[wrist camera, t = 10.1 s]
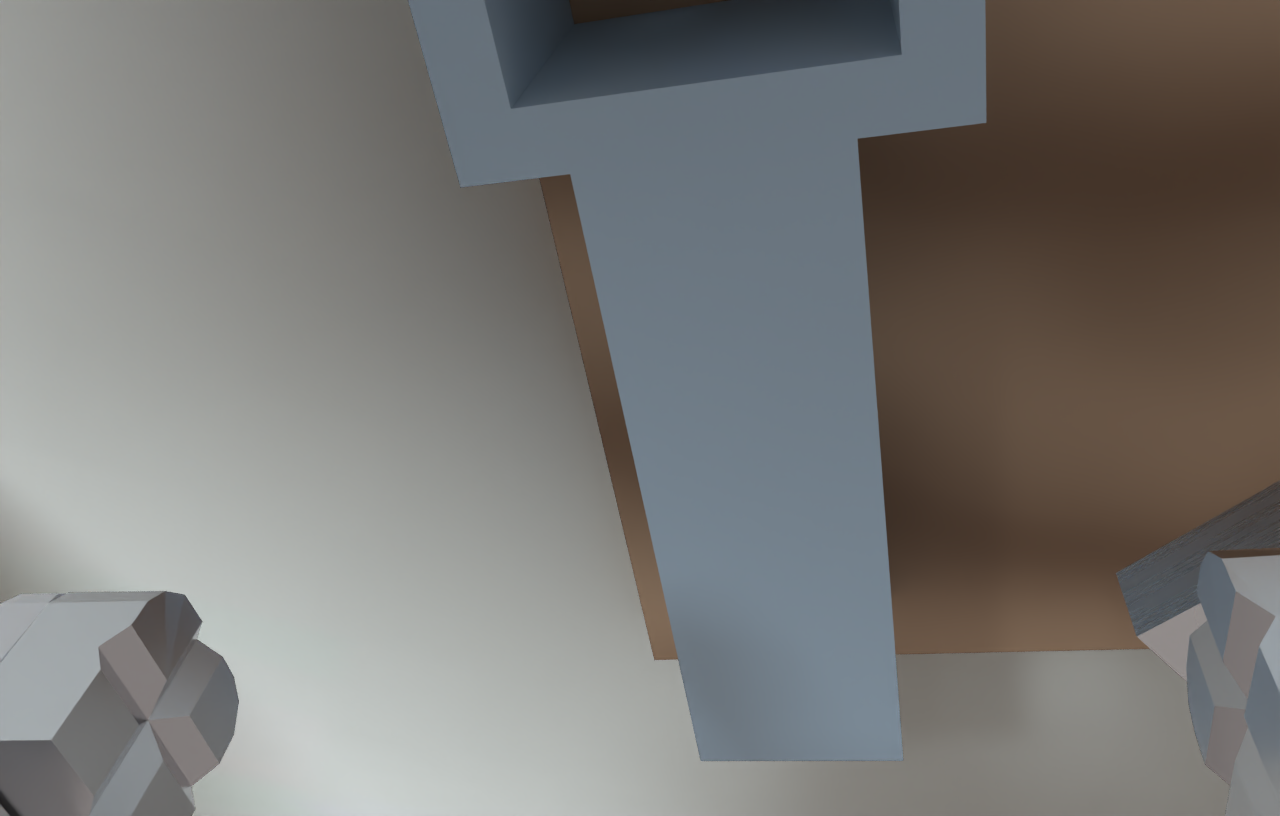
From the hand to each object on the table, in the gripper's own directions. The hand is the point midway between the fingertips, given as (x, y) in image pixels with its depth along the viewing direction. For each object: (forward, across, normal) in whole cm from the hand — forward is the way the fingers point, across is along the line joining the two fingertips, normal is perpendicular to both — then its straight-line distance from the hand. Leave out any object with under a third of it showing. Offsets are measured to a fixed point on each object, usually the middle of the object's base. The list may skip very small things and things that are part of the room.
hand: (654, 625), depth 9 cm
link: (+10, 0, +1) cm, 10 cm away
